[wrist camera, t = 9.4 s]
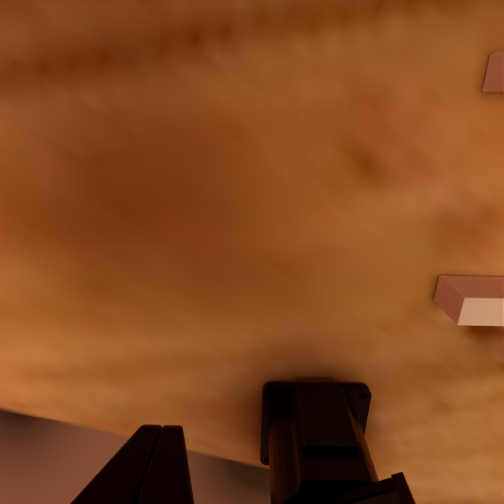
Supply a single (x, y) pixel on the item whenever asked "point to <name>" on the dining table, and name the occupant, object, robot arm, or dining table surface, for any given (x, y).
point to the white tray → (476, 287)
